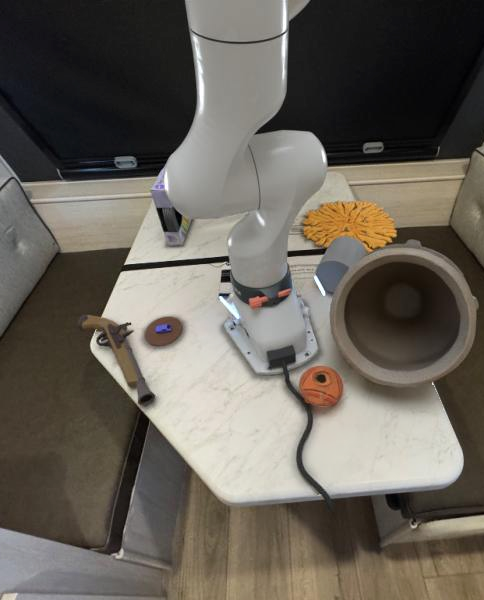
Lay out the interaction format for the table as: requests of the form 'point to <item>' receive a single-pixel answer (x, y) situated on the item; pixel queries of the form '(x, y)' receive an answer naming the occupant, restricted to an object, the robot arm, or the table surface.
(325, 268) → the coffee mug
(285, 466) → the table surface
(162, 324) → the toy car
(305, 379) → the pot
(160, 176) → the cake pan box
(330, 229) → the coral
